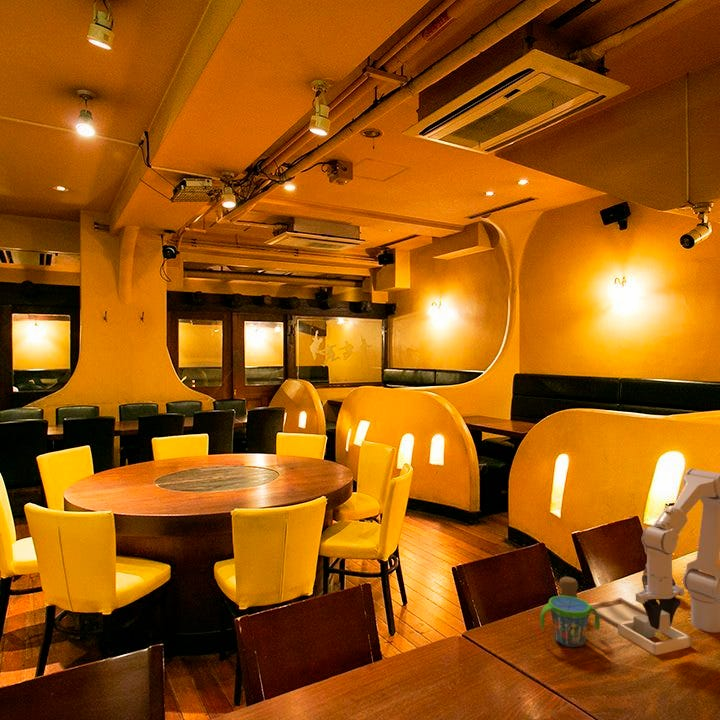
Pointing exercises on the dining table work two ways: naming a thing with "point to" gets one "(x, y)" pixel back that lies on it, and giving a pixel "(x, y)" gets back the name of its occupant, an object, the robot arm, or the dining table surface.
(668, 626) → the beige cuboid
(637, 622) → the grey rectangular prism
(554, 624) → the snack cup
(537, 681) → the dining table surface
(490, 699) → the dining table surface
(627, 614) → the beech tray
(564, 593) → the cork
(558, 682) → the dining table surface
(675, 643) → the pale wooden open box
